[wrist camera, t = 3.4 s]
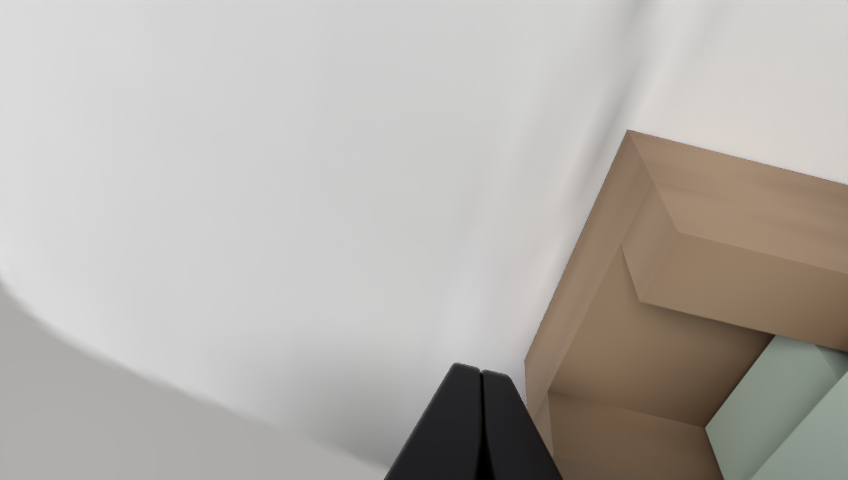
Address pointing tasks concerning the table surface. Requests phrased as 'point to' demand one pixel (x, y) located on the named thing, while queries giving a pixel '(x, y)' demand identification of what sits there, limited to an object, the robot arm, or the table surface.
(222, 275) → the table surface
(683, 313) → the beam
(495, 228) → the table surface
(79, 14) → the table surface
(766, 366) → the block
